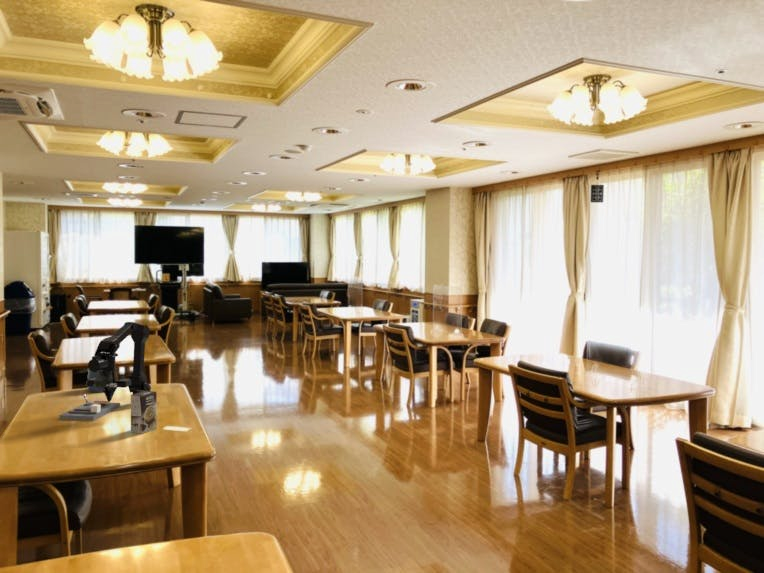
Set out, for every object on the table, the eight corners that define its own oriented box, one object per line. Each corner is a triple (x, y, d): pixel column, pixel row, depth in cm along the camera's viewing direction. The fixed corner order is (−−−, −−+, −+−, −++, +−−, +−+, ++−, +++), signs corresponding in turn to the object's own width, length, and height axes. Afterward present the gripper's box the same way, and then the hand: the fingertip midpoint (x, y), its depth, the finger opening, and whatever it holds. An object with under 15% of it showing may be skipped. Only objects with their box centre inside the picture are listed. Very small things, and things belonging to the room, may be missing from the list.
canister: (118, 387, 327) (118, 356, 326) (105, 393, 314) (104, 360, 313) (96, 386, 328) (95, 355, 327) (82, 392, 315) (81, 359, 314)
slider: (100, 411, 271) (100, 404, 271) (97, 413, 268) (96, 406, 268) (94, 411, 272) (94, 404, 272) (90, 412, 269) (90, 406, 269)
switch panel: (120, 407, 287) (119, 401, 287) (93, 420, 265) (93, 414, 264) (88, 405, 289) (88, 400, 289) (59, 419, 266) (59, 413, 266)
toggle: (89, 401, 284) (86, 393, 283) (87, 402, 282) (84, 394, 282) (87, 402, 284) (83, 394, 284) (85, 403, 282) (81, 395, 282)
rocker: (109, 403, 285) (109, 401, 286) (101, 403, 279) (102, 400, 279) (101, 403, 286) (101, 400, 286) (93, 403, 279) (94, 400, 279)
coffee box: (142, 434, 247) (142, 396, 245) (130, 432, 249) (129, 394, 248) (157, 428, 255) (157, 391, 254) (145, 426, 257) (145, 390, 256)
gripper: (78, 370, 261) (79, 405, 262) (119, 371, 260) (119, 406, 261) (92, 365, 272) (93, 398, 273) (131, 366, 271) (132, 400, 272)
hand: (109, 401), depth 269 cm, fingers closed
